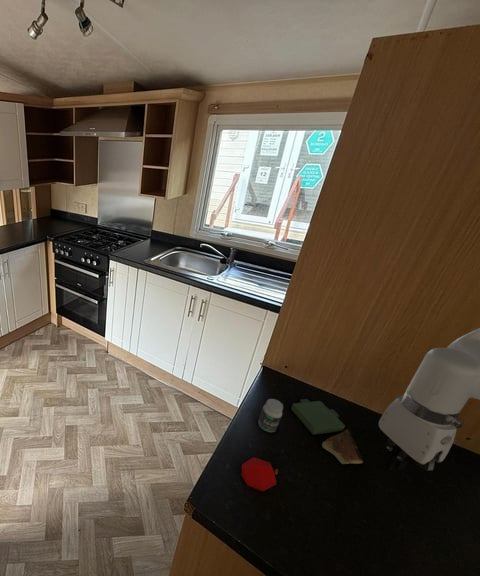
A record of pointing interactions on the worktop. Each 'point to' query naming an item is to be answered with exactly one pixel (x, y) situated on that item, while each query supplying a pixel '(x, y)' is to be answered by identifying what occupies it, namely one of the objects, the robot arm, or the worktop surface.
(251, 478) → the apple
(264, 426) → the pill bottle
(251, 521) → the worktop surface
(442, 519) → the worktop surface
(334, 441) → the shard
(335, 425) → the rubber pad
